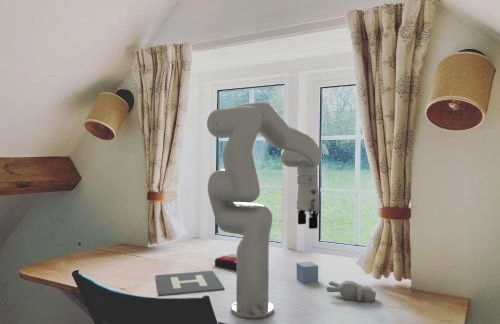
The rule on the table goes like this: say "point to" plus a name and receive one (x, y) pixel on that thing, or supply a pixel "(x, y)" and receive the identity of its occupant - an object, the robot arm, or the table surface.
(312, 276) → the blue cube
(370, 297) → the bunny figurine
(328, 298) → the table surface
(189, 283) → the letter mat
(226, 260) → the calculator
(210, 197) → the robot arm
